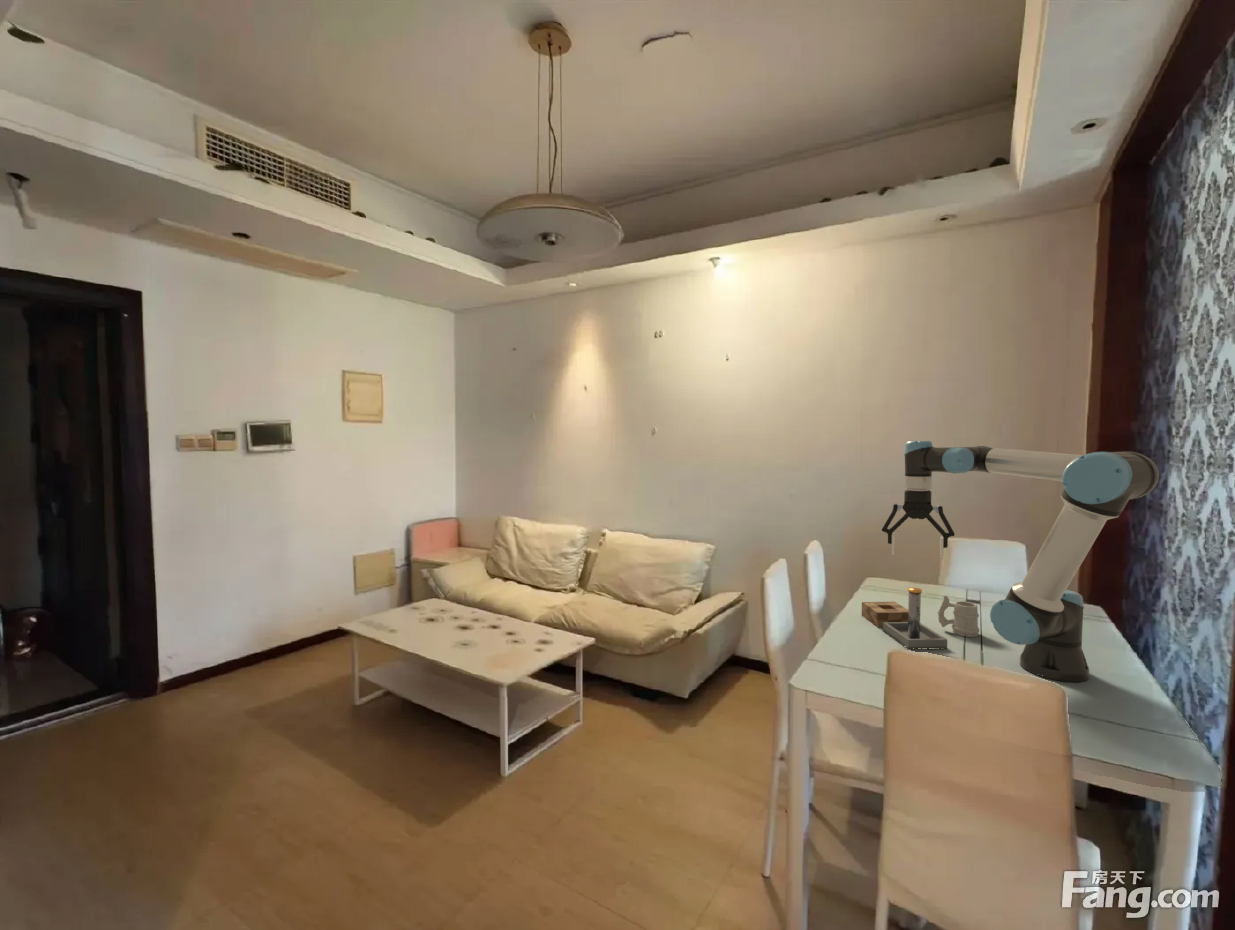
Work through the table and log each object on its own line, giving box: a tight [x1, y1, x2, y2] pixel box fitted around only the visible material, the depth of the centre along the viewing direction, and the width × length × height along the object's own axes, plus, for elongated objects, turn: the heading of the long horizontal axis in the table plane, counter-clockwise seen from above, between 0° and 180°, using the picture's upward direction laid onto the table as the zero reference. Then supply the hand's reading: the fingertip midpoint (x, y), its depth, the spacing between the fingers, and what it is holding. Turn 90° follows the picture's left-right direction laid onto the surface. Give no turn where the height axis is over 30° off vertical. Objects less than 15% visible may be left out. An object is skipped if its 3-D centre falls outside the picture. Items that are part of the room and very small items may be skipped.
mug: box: [937, 594, 980, 638], centre depth 184 cm, size 8×12×12 cm, turn 62°
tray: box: [882, 622, 948, 651], centre depth 178 cm, size 16×12×3 cm
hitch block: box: [861, 601, 908, 628], centre depth 196 cm, size 12×12×5 cm
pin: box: [907, 586, 923, 639], centre depth 177 cm, size 4×4×16 cm
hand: (916, 556), depth 177 cm, fingers open, 13 cm apart
